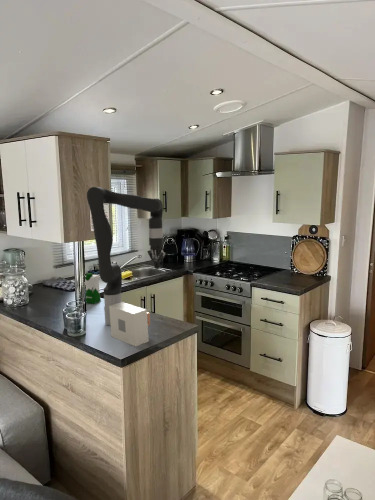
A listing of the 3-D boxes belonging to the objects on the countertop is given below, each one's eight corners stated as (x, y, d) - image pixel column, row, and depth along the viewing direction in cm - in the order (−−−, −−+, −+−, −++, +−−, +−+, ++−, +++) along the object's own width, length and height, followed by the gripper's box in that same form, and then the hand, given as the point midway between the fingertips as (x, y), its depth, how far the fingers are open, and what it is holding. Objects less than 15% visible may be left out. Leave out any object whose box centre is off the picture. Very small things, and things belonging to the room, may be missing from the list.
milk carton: (83, 303, 253) (81, 273, 250) (92, 299, 261) (90, 271, 258) (94, 304, 249) (92, 274, 246) (103, 300, 257) (100, 271, 254)
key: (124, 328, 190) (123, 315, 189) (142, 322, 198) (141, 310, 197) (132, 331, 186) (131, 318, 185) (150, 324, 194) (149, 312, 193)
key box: (111, 336, 193) (109, 305, 191) (124, 331, 199) (122, 302, 196) (135, 346, 179) (133, 313, 177) (148, 341, 185) (146, 309, 182)
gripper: (142, 236, 204) (143, 268, 207) (158, 238, 195) (160, 271, 198) (153, 235, 209) (154, 266, 212) (169, 236, 200) (170, 269, 203)
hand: (157, 268), depth 205 cm, fingers closed
